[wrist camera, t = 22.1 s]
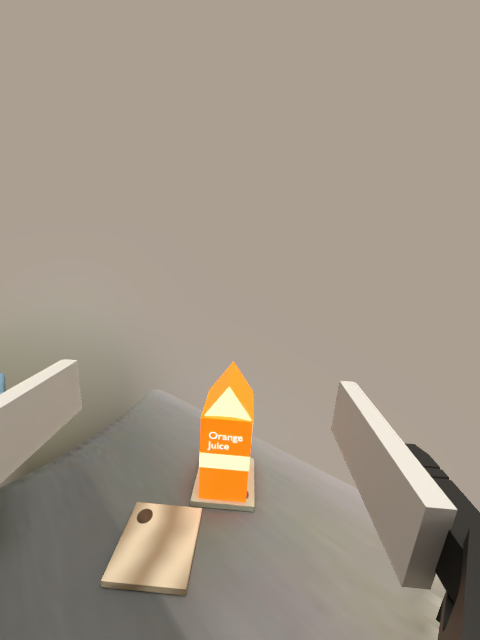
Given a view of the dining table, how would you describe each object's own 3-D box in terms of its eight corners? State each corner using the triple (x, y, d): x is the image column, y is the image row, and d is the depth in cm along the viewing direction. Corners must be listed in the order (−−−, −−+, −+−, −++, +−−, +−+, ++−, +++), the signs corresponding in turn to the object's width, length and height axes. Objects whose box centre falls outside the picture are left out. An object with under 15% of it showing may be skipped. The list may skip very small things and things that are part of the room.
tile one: (101, 587, 31) (100, 580, 31) (137, 507, 41) (137, 501, 40) (185, 595, 31) (186, 589, 30) (201, 513, 40) (201, 507, 40)
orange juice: (197, 498, 42) (200, 383, 37) (207, 456, 50) (210, 358, 45) (247, 503, 41) (257, 388, 36) (248, 460, 50) (256, 362, 45)
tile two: (190, 506, 41) (190, 500, 41) (201, 458, 51) (202, 453, 51) (253, 511, 41) (254, 506, 41) (253, 462, 51) (253, 457, 51)
